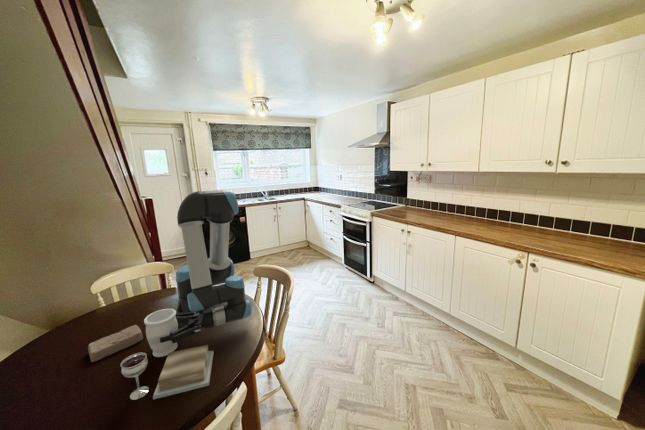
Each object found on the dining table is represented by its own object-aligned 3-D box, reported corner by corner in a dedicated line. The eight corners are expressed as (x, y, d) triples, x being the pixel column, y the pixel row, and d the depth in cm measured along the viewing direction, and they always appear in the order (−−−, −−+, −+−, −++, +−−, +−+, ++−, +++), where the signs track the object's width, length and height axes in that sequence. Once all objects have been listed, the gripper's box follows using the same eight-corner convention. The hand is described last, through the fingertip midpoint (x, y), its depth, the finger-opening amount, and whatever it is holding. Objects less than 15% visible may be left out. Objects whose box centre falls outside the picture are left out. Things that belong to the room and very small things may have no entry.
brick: (92, 363, 94) (89, 352, 93) (88, 353, 100) (86, 343, 99) (144, 341, 107) (142, 331, 106) (138, 333, 112) (136, 323, 111)
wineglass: (126, 390, 82) (120, 358, 80) (151, 380, 86) (146, 349, 84) (125, 406, 77) (119, 372, 74) (152, 394, 80) (147, 361, 78)
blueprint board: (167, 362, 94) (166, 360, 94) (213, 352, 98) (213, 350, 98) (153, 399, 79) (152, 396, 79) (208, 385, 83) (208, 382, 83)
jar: (170, 338, 107) (165, 305, 105) (186, 345, 103) (181, 311, 100) (143, 354, 98) (137, 319, 95) (160, 363, 93) (154, 326, 91)
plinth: (170, 362, 93) (169, 352, 92) (208, 354, 96) (207, 344, 96) (159, 391, 80) (158, 380, 80) (204, 380, 84) (203, 370, 84)
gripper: (217, 340, 98) (148, 361, 88) (212, 312, 118) (156, 326, 108) (215, 323, 97) (145, 342, 87) (210, 297, 117) (153, 310, 106)
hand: (151, 333), depth 97 cm, fingers closed on jar, 10 cm apart
